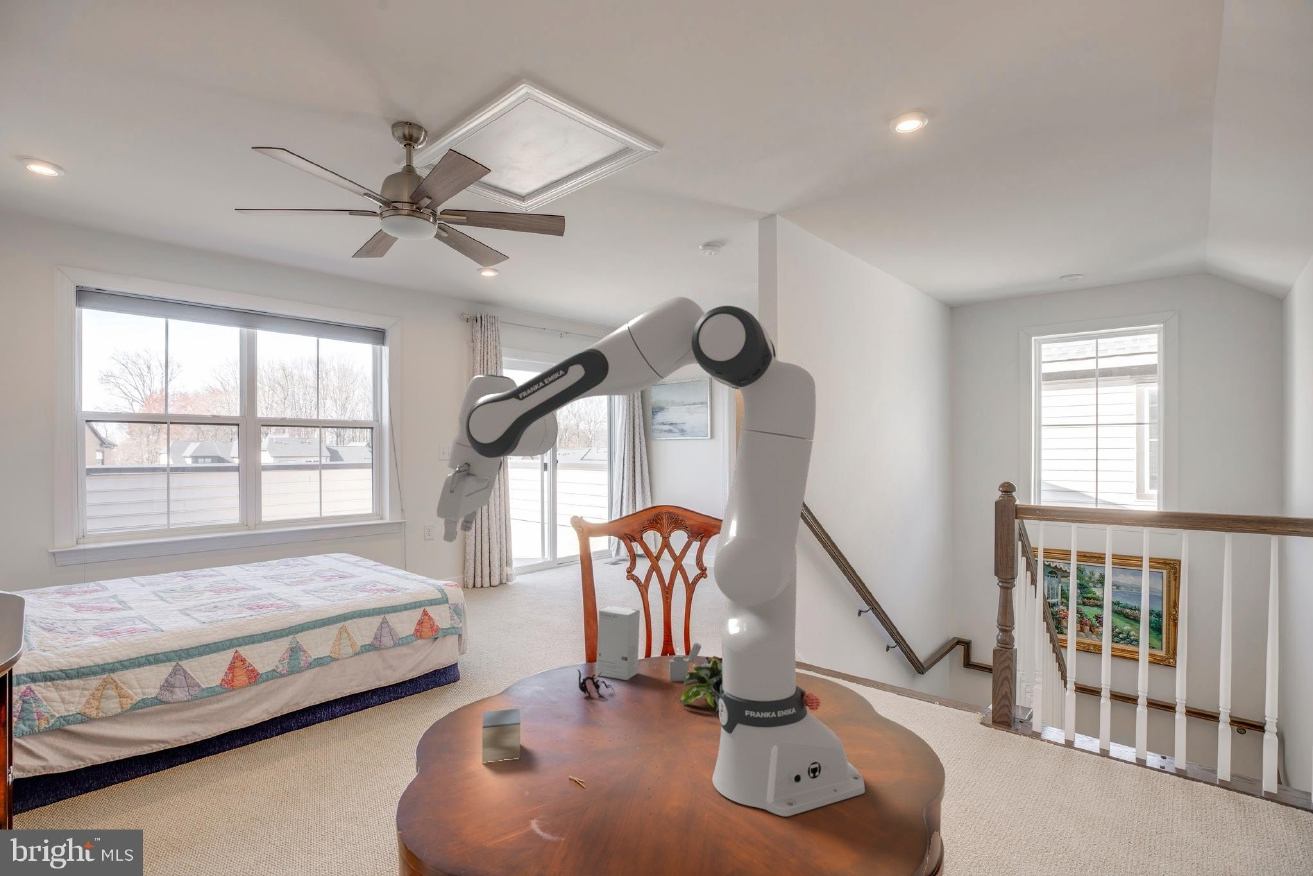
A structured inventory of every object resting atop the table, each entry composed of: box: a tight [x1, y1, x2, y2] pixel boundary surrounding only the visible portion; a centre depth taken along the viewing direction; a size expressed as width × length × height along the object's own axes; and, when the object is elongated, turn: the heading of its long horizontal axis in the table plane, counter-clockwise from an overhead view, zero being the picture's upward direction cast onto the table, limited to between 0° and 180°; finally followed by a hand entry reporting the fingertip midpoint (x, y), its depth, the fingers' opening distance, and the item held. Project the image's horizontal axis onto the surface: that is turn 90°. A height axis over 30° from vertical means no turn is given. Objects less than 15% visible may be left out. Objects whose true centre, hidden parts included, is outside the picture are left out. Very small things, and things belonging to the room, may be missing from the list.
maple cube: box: [481, 708, 521, 764], centre depth 104 cm, size 6×6×6 cm
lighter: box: [668, 641, 702, 682], centre depth 139 cm, size 7×2×8 cm, turn 95°
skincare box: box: [595, 605, 641, 681], centre depth 142 cm, size 8×6×15 cm
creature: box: [577, 669, 615, 701], centre depth 130 cm, size 8×5×8 cm
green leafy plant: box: [679, 655, 722, 715], centre depth 123 cm, size 11×11×12 cm
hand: (457, 535), depth 113 cm, fingers open, 8 cm apart
